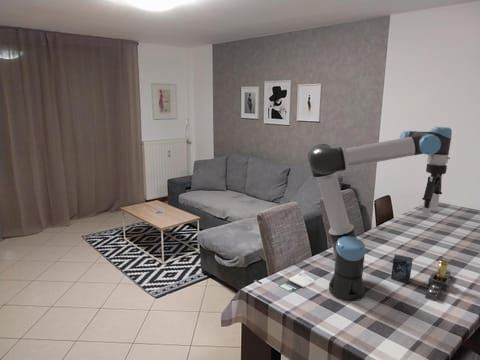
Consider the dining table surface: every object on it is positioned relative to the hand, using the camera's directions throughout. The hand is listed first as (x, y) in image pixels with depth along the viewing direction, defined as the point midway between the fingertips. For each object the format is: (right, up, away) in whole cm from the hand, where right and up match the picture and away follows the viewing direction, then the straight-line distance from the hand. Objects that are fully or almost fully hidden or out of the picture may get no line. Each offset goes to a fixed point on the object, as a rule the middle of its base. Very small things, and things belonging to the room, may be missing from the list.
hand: (430, 211), depth 152 cm
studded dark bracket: (+7, -34, +6) cm, 36 cm away
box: (-8, -33, +12) cm, 36 cm away
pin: (+7, -34, +6) cm, 36 cm away
